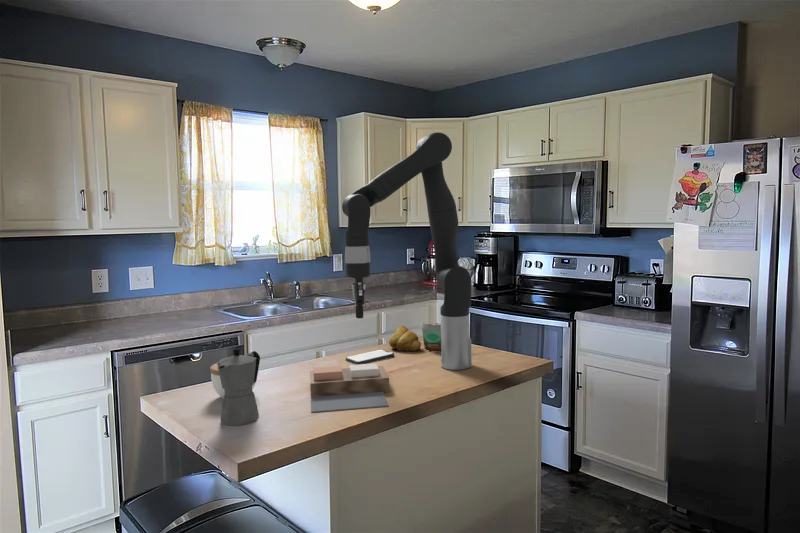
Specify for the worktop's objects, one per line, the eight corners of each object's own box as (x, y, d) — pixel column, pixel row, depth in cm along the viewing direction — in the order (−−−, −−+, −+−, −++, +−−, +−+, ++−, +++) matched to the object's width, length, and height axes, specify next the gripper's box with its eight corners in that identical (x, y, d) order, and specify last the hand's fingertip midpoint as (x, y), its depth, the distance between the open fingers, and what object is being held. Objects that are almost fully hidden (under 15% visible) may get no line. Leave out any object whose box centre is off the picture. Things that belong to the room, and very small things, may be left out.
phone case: (358, 366, 185) (395, 357, 195) (357, 362, 185) (395, 353, 195) (344, 361, 192) (381, 353, 202) (344, 357, 192) (381, 348, 202)
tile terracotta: (341, 372, 162) (340, 365, 162) (342, 378, 156) (342, 371, 156) (313, 374, 161) (313, 367, 161) (313, 380, 155) (313, 373, 155)
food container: (418, 352, 200) (417, 325, 200) (420, 348, 207) (420, 321, 206) (452, 352, 198) (451, 325, 198) (453, 348, 204) (453, 322, 204)
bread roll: (426, 349, 204) (426, 328, 203) (407, 354, 197) (406, 332, 197) (403, 344, 213) (402, 324, 213) (384, 348, 207) (383, 328, 206)
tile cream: (376, 369, 164) (376, 363, 164) (378, 375, 158) (378, 368, 158) (349, 371, 163) (349, 365, 162) (351, 377, 157) (350, 370, 156)
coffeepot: (238, 431, 129) (234, 356, 128) (206, 426, 133) (202, 353, 131) (276, 409, 144) (273, 341, 142) (246, 405, 147) (243, 339, 145)
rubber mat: (382, 392, 155) (382, 391, 155) (388, 406, 144) (388, 405, 144) (310, 398, 152) (310, 397, 152) (311, 412, 140) (311, 411, 140)
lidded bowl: (256, 401, 150) (254, 362, 149) (208, 405, 148) (205, 365, 147) (260, 388, 162) (258, 351, 161) (215, 391, 160) (213, 354, 159)
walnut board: (383, 378, 169) (382, 365, 168) (389, 391, 156) (389, 377, 155) (310, 383, 165) (310, 370, 165) (310, 397, 152) (310, 383, 152)
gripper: (372, 262, 160) (374, 321, 161) (367, 259, 173) (369, 313, 174) (346, 263, 159) (348, 322, 160) (343, 260, 172) (345, 314, 173)
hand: (359, 317), depth 167 cm, fingers closed
